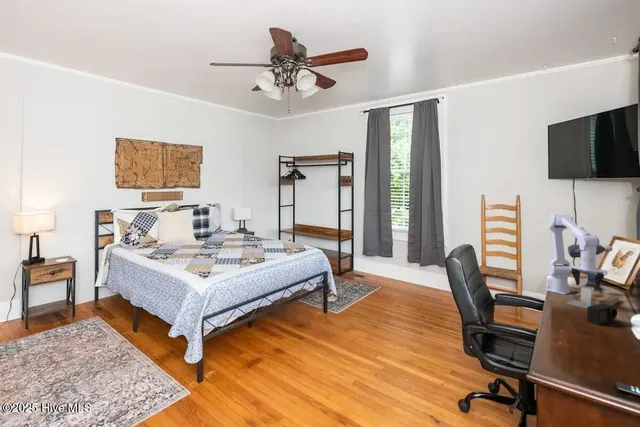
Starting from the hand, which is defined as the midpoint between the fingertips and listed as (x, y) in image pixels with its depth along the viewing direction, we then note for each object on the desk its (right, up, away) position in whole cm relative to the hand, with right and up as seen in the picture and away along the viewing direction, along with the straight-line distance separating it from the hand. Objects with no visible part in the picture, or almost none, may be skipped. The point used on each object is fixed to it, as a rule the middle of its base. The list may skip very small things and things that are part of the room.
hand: (587, 286), depth 158 cm
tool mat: (0, -10, +1) cm, 10 cm away
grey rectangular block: (+1, -10, +1) cm, 10 cm away
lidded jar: (+20, -8, +32) cm, 38 cm away
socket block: (+11, -9, +8) cm, 17 cm away
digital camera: (-10, -11, -19) cm, 25 cm away
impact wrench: (+33, -7, +38) cm, 50 cm away
